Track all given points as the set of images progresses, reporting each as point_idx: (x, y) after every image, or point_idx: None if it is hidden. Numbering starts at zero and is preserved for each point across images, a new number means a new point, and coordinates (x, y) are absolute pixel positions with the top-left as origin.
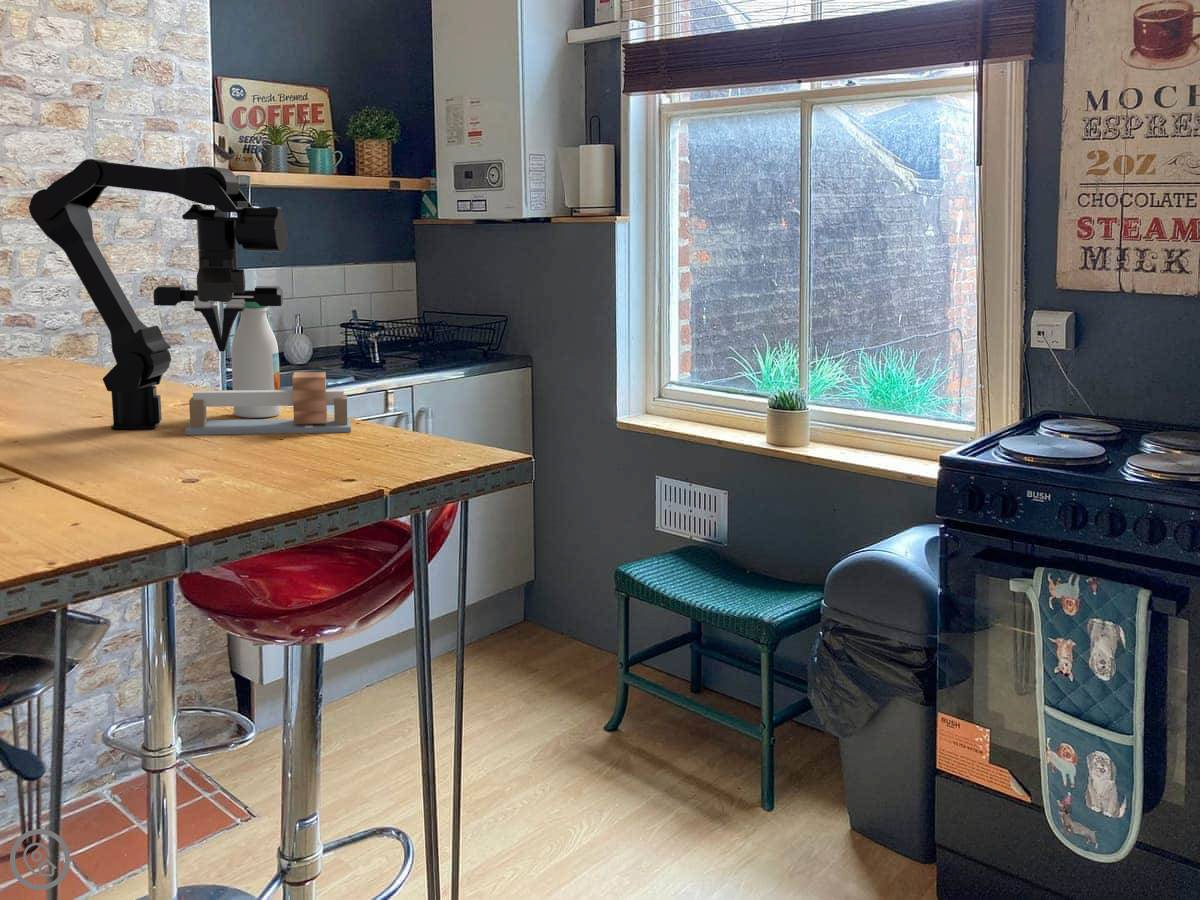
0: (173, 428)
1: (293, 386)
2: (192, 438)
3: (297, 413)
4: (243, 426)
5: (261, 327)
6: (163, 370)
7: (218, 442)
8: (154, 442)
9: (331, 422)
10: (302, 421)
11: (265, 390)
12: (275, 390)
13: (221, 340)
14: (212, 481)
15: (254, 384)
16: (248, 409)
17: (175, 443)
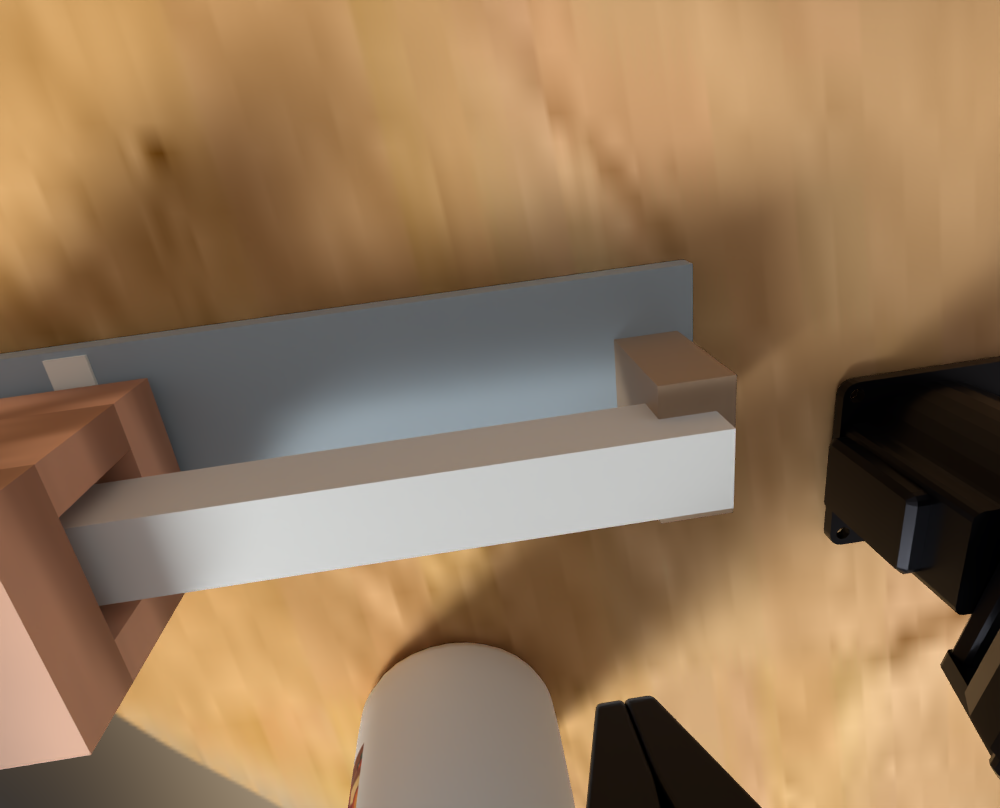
0: (756, 416)
1: (11, 479)
2: (636, 169)
3: (97, 402)
4: (422, 367)
5: None
6: (994, 655)
7: (481, 52)
8: (811, 48)
9: None
10: (93, 388)
11: (296, 561)
12: (230, 567)
13: (658, 798)
14: None
15: (445, 776)
16: (475, 666)
17: (703, 18)
